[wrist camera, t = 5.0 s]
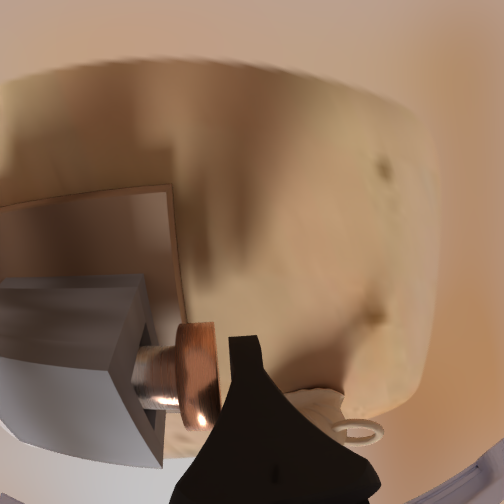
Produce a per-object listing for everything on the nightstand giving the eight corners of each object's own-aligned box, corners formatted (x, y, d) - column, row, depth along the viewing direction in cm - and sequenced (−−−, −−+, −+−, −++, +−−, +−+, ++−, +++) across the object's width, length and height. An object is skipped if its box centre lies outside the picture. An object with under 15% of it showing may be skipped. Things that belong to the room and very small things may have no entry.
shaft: (23, 362, 11) (-3, 415, 7) (-7, 301, 9) (-48, 351, 6) (219, 372, 12) (225, 448, 8) (212, 300, 11) (216, 382, 7)
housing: (51, 384, 14) (23, 459, 8) (-16, 211, 9) (-101, 266, 3) (199, 393, 15) (203, 490, 9) (172, 184, 11) (124, 252, 5)
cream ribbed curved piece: (232, 416, 17) (241, 484, 12) (345, 358, 16) (381, 426, 11) (263, 435, 19) (275, 494, 14) (363, 386, 18) (393, 444, 13)
